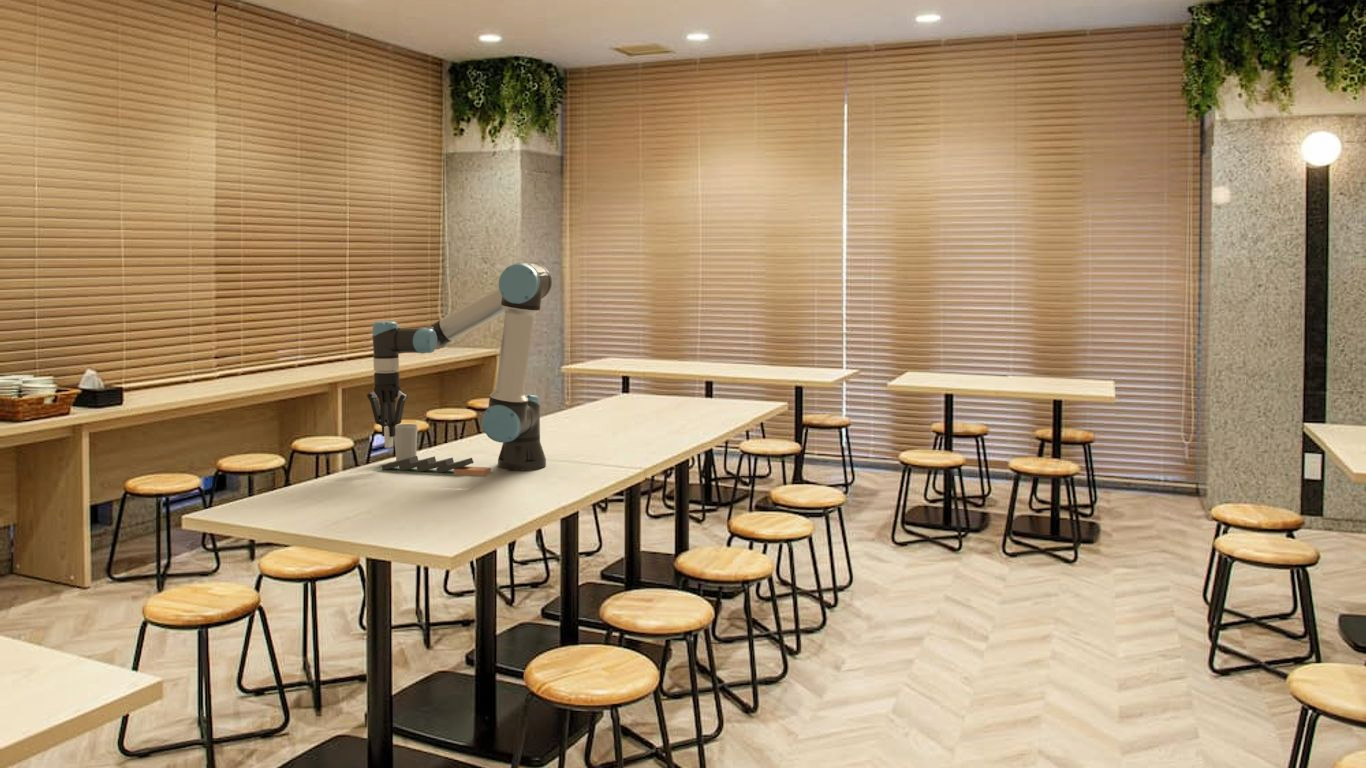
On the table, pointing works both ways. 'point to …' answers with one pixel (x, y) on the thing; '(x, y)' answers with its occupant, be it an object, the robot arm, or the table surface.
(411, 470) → the runner
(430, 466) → the domino
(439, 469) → the domino
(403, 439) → the cup
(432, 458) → the domino
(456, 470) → the domino
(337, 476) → the table surface
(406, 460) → the domino
